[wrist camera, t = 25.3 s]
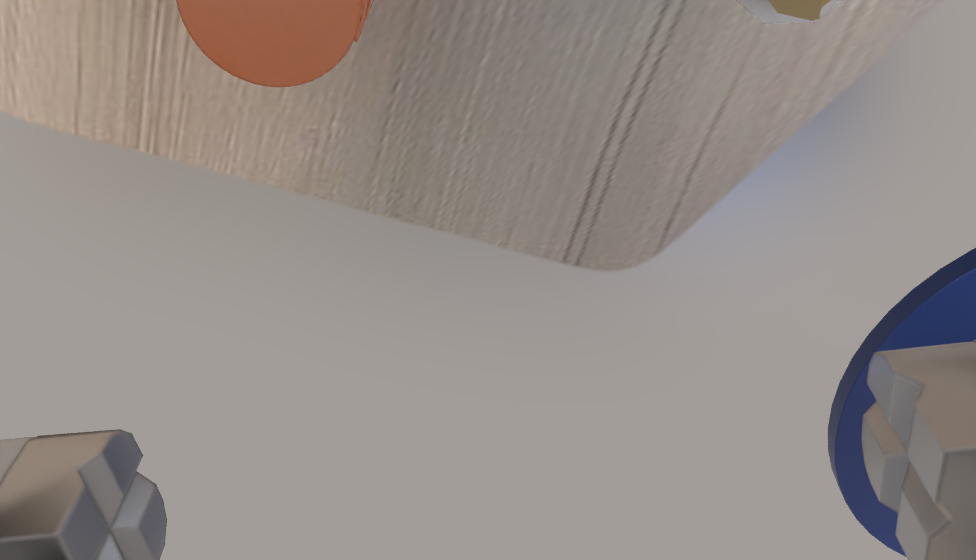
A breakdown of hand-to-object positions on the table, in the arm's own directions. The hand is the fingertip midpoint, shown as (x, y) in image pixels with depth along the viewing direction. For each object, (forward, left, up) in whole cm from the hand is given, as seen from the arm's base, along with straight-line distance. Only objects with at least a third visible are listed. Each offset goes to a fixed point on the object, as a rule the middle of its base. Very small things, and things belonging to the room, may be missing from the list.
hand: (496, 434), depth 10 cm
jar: (+5, +5, -31) cm, 32 cm away
